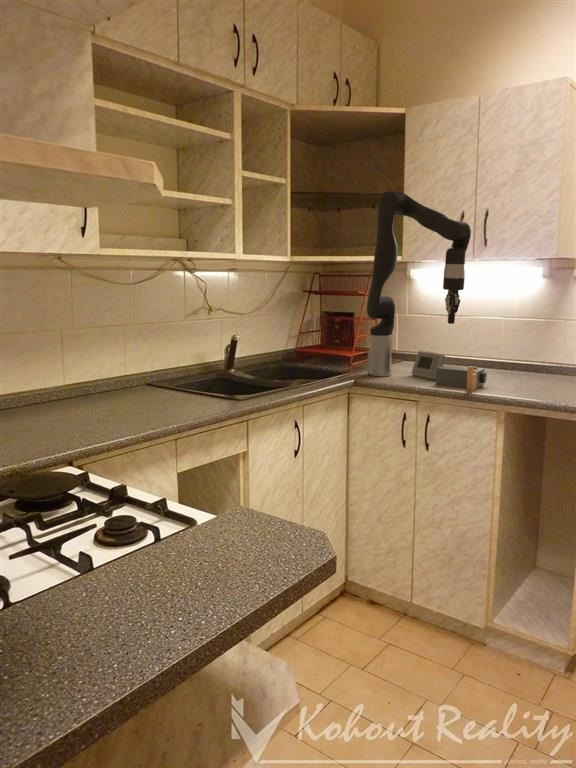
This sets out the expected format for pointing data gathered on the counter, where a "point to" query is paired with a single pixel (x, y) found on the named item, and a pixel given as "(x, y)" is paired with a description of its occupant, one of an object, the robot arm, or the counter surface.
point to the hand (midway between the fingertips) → (450, 323)
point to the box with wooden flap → (458, 376)
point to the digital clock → (427, 364)
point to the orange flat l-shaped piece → (471, 380)
